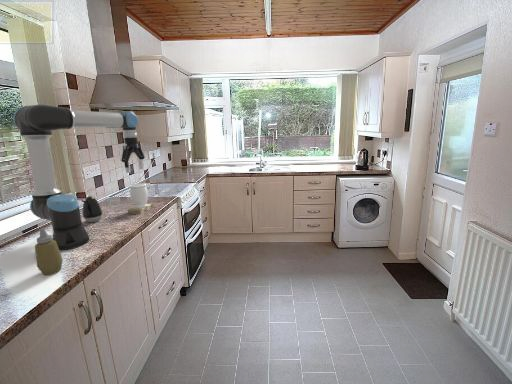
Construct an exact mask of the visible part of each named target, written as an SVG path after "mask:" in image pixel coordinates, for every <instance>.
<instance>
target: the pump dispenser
mask: <svg viewBox="0 0 512 384" xmlns="http://www.w3.org/2000/svg"><path fill="white" fill-rule="evenodd" d="M81 203H83V204H82V218H83V219H84V220H85V222H88V223H96V222H98V221H100V220H102V218H103V209H102V207H101V205H100V203H99V201H98V200H97V199H96V197H94V196H92V195H91V196H87V197H85V199H81Z"/></svg>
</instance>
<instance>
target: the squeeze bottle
mask: <svg viewBox="0 0 512 384" xmlns="http://www.w3.org/2000/svg"><path fill="white" fill-rule="evenodd" d="M52 239H53V235H51V234H48V232H47V231H46V229H45V227H41V228H39V236H38V237H37V238H36V242H37V243H36V244H35V246H34V248H35V249H34V251H35V258H36V267H37V268H38V270H39V271H40V272H41V274H42V275H44V276H50V275H53V274H56V273H58V272H59V271H61V269H62V266H63V257H62V254H61V250H59V248H58V245H57V243H56V241H55V240H52Z"/></svg>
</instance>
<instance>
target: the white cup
mask: <svg viewBox="0 0 512 384" xmlns="http://www.w3.org/2000/svg"><path fill="white" fill-rule="evenodd" d="M128 187H129V194H130V195H129V196H130V198H131V202H132V204H133V207H134V208H143V207H146V206H147V204H148V203H147V202H148V197H149V192H148V188H147V183H146V182H137V183H132V184H129V185H128Z"/></svg>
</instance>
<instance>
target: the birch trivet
mask: <svg viewBox="0 0 512 384" xmlns="http://www.w3.org/2000/svg"><path fill="white" fill-rule="evenodd" d="M152 208H154V206H153V203H147V206H146V207H143V208H134V206H132V207H130V208H128V209H127V214H132V215H133V214H134V215H135V214H136V215H141V214H143V213H145V212H147V211H149V210H150V209H152Z"/></svg>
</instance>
